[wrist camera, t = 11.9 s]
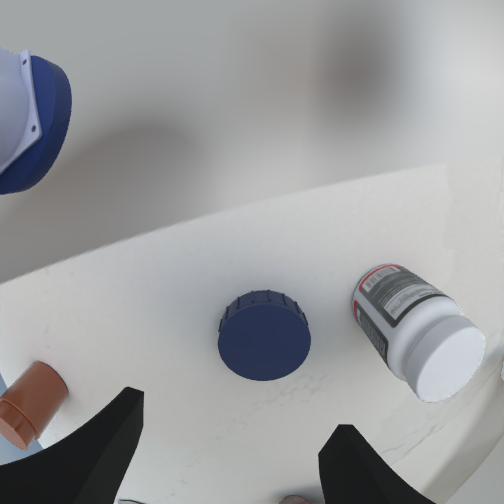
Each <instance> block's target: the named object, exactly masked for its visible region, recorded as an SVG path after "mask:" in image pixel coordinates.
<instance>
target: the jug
mask: <svg viewBox="0 0 504 504" xmlns="http://www.w3.org/2000/svg"><path fill="white" fill-rule="evenodd" d="M279 504H311V503H309V502H307V501H305V500H304V499H303V498H301V497H296V496H292V495H291V496H288V497H286V498H285V499H283V500H282V501H281V502H280V503H279Z"/></svg>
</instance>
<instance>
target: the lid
mask: <svg viewBox="0 0 504 504" xmlns="http://www.w3.org/2000/svg"><path fill="white" fill-rule="evenodd" d="M307 325H308V322H307V320H306V317H305V314H304V312H303V313H302V311H301V309H300V308H299V306H298V305H297V302H296V301H295V302H294V301H293V300H292V299H290V298H289V297H287V296H285V294H281V293H277V292H273V291H269V290H268V291H256V292H253V291H252V292H251V293H248V294H245V295H243V296H241V297H240V298H239V297H237V299H236V300H235V301H234V302H233V303H232V304H231V305H230V306H229V307H227V308H226V312H225V313H224V316H223V319H221V321H220V326H219V331H218V332H220V333H219V338H218V349H219V353H220V356H221V358H222V360H223V361H224V363H225V364H226V365H227V366H228V368H229V369H231V370H232V371H233V372H235V373H236V374H238V375H240V376H242V377H244V378H247V379H251V380H257V381H269V380H275V379H279V378H282V377H284V376H287V375H288V374H290V373H292V372H293V371H295V370H296V369H297V368H298V367H299V366H300V365H301V364H302V363H303V362H304V360H305V359H306V357H307V355H308V353H309V350H310V345H311V336H310V333H309V329H308V326H307Z"/></svg>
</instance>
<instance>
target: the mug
mask: <svg viewBox="0 0 504 504" xmlns="http://www.w3.org/2000/svg"><path fill="white" fill-rule="evenodd" d="M500 375H501V377H502V379H503V380H504V363H503V367H502V371H501V374H500Z"/></svg>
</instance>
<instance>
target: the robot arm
mask: <svg viewBox="0 0 504 504" xmlns="http://www.w3.org/2000/svg"><path fill="white" fill-rule="evenodd" d="M35 127H36V130H35ZM41 136H42V129H41V125H40V120H39V115H38V109H37V103H36V97H35V91H34V83H33V75H32V66H31V54H30V51H29V50H27V49H26V50H25V51H23V52H22V53H21V54H20V55H18V54H15V53H13V52H10V51H8V50H5V49H2V48H0V175H1V174H2V173H3V172H4V171H5V170H6V169H7V168H8V167H9V166H10V165H12V164H13V163H14V162H15V161H16V160H17V159H18V158H19V157H20V156H21V155H22V154H23V153H25V152H26V151H27V150H28V149H29V148H30V147H31V146H33V145H34V144H35V143H36V142H37V141H38V140H39V139H40V138H41ZM143 408H144V392H143V391H140V390H137V389H134V388H131V387H125V388H124V389H123V390H122V391H121V392H120V393H119V394H118V395H117V396H116V397H115V398H114V399H113V400H112V401H111V402H110V403H109V404H108V405H107V406H106V407H105V408H103V409H102V410H101V411H100V412H99V413H98V414H96V415H95V416H94V417H93V418H92V419H90V420H89V421H88V422H87V423H85V424H84V425H83V426H81V427H80V428H78V429H77V430H76V431H74V432H73V433H71V434H70V435H68V436H67V437H65V438H64V439H62V440H60V441H59V442H57V443H55V444H53V445H52V446H50V447H48V448H46V449H44V450H42V451H40V452H38V453H36V454H33V455H31V456H29V457H26V458H23V459H21V460H17V461H14V462H11V463H8V464H4V465H0V504H113V503H114V500H115V497H116V494H117V492H118V489H119V487H120V485H121V482H122V480H123V478H124V475H125V473H126V471H127V469H128V466H129V464H130V462H131V459H132V457H133V455H134V453H135V450H136V448H137V445H138V442H139V438H140V435H141V432H142V428H143ZM318 458H319V474H320V480H321V485H322V490H323V494H324V499H325V504H436V503H434V502H432V501H431V500H429V499H427V498H426V497H424V496H423V495H421V494H420V493H419V492H417V491H416V490H415V489H413V488H412V487H411V486H410V485H408V484H407V483H406V482H405V481H404V480H403V479H402V478H401V477H399V476H398V475H397V474H396V473H395V472H394V471H393V470H392V469H391V468H390V467H389V466H388V465H387V464H386V462H385V461H384V460H383V459H382V458H381V457H380V456H379V455H378V454H377V452H376V451H375V450H374V449H373V448H372V447H371V446H370V444H369V443H368V442H367V441H366V440H365V438H364V437H363V436H362V435H361V434H360V433H359V431H358V430H357V429H356V428H355V427H354V426H353V425H348V424H339V425H338V426H337V428H336V429H335V431H334V432H333V434H332V435H331V437H330V438H329V440H328V441H327V442H326V444H325V445H324V447H323V448H322V449H321V451H320V452H319V454H318Z"/></svg>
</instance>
